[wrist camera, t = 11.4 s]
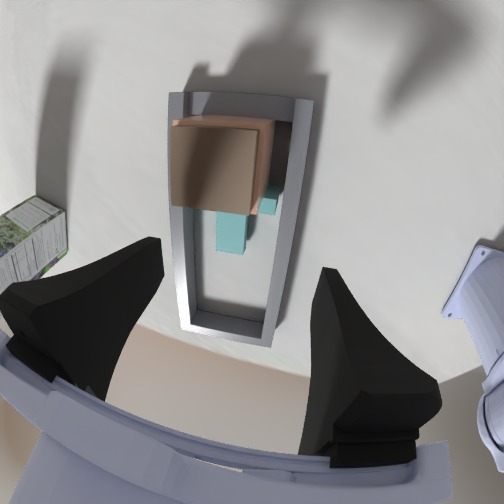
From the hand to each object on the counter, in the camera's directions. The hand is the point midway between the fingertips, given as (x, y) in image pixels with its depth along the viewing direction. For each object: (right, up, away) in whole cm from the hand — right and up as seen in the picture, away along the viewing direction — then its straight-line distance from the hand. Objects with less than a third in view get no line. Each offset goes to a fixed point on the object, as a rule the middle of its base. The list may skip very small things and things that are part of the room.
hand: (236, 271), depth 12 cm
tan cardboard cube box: (0, +8, +5) cm, 9 cm away
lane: (-1, +2, +9) cm, 9 cm away
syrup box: (-21, +4, +12) cm, 25 cm away
